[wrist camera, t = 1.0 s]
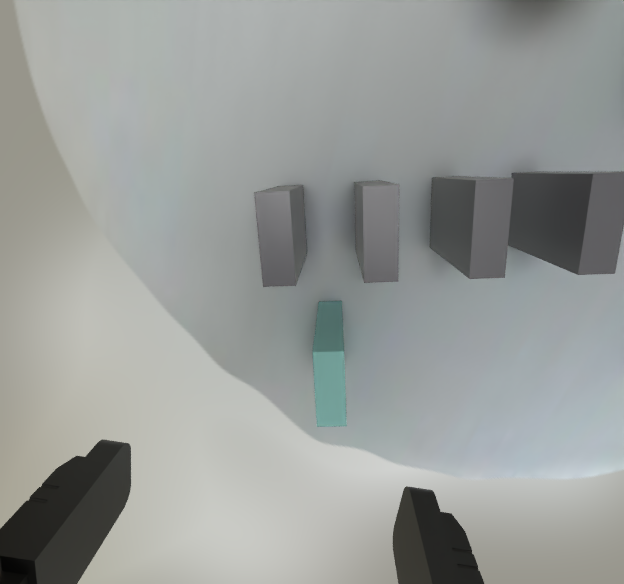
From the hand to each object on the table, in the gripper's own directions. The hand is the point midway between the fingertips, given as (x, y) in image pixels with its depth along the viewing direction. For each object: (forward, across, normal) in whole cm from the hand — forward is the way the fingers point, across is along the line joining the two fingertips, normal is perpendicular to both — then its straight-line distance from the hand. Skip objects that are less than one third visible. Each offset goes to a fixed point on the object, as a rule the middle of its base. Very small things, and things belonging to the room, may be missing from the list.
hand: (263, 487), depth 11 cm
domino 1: (+20, +2, -5) cm, 21 cm away
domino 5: (+20, -14, -8) cm, 26 cm away
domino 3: (+20, -4, -6) cm, 21 cm away
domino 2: (+20, -2, +3) cm, 21 cm away
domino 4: (+20, -9, -7) cm, 23 cm away
